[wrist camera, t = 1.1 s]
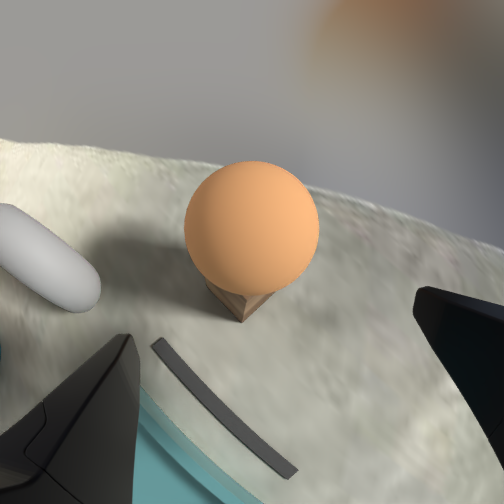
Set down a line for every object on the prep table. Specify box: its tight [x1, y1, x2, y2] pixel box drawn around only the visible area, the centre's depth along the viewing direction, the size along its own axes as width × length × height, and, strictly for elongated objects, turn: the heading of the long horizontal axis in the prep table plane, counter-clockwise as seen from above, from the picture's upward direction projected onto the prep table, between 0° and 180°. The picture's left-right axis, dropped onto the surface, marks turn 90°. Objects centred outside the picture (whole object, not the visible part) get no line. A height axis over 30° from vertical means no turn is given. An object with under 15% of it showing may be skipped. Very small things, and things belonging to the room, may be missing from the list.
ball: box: [184, 161, 319, 296], centre depth 14 cm, size 6×6×6 cm
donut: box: [0, 203, 101, 313], centre depth 16 cm, size 10×3×10 cm, turn 67°
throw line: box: [152, 338, 298, 479], centre depth 17 cm, size 13×1×1 cm, turn 44°
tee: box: [205, 277, 276, 323], centre depth 19 cm, size 4×4×6 cm
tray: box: [132, 386, 264, 504], centre depth 13 cm, size 13×12×3 cm
